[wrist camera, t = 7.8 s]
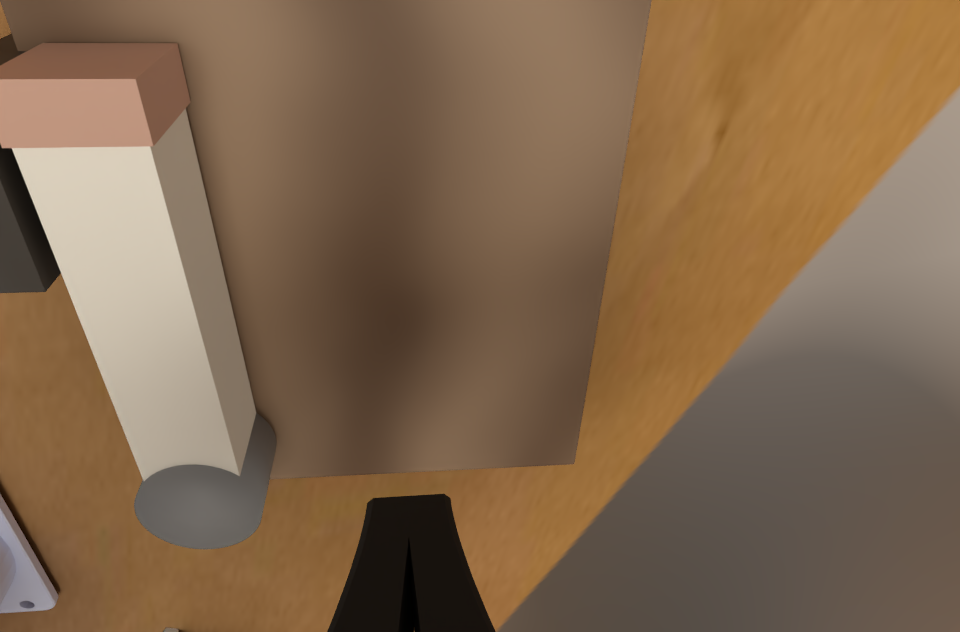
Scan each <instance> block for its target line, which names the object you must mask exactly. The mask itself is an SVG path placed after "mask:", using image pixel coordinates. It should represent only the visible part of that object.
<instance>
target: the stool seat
mask: <svg viewBox="0 0 960 632" xmlns="http://www.w3.org/2000/svg"><path fill="white" fill-rule="evenodd" d="M0 1H1V4H2V7H3V10H4V13H5V16H6V19H7V22H8V24H9V27H10V30H11V33H12V34H10V35H8V36H5V37H3V38H1V39H0V65H2V64H4V63H6V62H8V61H10V60H12V59H14V58H15V57H17V56H19V55H21V54H23V53H25V52H27V51H28V50H30V49H32V48H34V47H36V46H38V45H40V44H42V43H177V44H178V48H179V53H180V57H181V62H182V66H183V71H184V75H185V79H186V84H187V88H188V93H189V97H190V101H191V102H190V104H189V105H188V106H187V107H186V112H187V116H188V121H189V125H190V129H191V133H192V138H193V142H194V146H195V151H196V155H197V159H198V164H199V168H200V172H201V177H202V181H203V185H204V190H205V194H206V198H207V202H208V207H209V211H210V215H211V220H212V224H213V228H214V233H215V237H216V241H217V246H218V250H219V254H220V258H221V263H222V267H223V271H224V276H225V280H226V284H227V289H228V293H229V297H230V302H231V306H232V310H233V314H234V319H235V323H236V327H237V332H238V336H239V340H240V345H241V349H242V353H243V358H244V362H245V366H246V371H247V375H248V379H249V383H250V388H251V392H252V396H253V401H254V405H255V409H256V413H257V414H259V415H260V416H261V417H263V418H264V419H265V420H266V421H267V422H268V423H269V425H270V426H271V427H272V429H273V431H274V433H275V436H276V442H277V444H276V451H275V456H274V461H273V466H272V470H271V475H270V479H286V478H306V477H326V476H346V475H366V474H386V473H406V472H426V471H446V470H466V469H486V468H506V467H526V466H547V465H567V464H574V462H575V456H576V450H577V444H578V438H579V432H580V426H581V420H582V414H583V408H584V402H585V396H586V390H587V384H588V378H589V372H590V366H591V360H592V354H593V348H594V342H595V336H596V330H597V324H598V318H599V312H600V306H601V300H602V294H603V288H604V282H605V276H606V270H607V264H608V258H609V252H610V246H611V240H612V234H613V228H614V222H615V216H616V210H617V204H618V198H619V192H620V186H621V180H622V174H623V168H624V162H625V156H626V150H627V144H628V138H629V132H630V126H631V120H632V114H633V108H634V102H635V96H636V90H637V84H638V78H639V72H640V66H641V60H642V54H643V48H644V42H645V36H646V30H647V24H648V18H649V12H650V6H651V0H0ZM60 273H61V271H60V269H59V266H58V264H57V261H56V259H55V256H54V254H53V251H52V249H51V246H50V244H49V241H48V239H47V236H46V234H45V231H44V229H43V226H42V224H41V221H40V218H39V216H38V213H37V211H36V208H35V206H34V203H33V201H32V198H31V196H30V193H29V191H28V188H27V186H26V183H25V181H24V178H23V176H22V173H21V171H20V168H19V166H18V163H17V160H16V158H15V155H14V153H13V150H12V148H2V147H1V144H0V293H19V292H46V291H47V289H48V288H49V287H50V286H51V284H52V283H53V282H54V281H55V280H56V278H57V277H58V276H59V275H60Z"/></svg>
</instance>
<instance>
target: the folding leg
mask: <svg viewBox="0 0 960 632" xmlns="http://www.w3.org/2000/svg"><path fill="white" fill-rule="evenodd" d="M190 102H191V101H190V97H189V93H188V88H187V84H186V79H185V75H184V71H183V66H182V62H181V57H180V53H179V48H178V44H177V43H42V44H40V45H38V46H36V47H34V48H32V49H30V50H28V51H27V52H25V53H23V54H21V55H19V56H17V57H15V58H14V59H12V60H10V61H8V62H6V63H4V64H2V65H0V144H1V147H2V148H12V150H13V153H14V155H15V158H16V160H17V163H18V166H19V168H20V171H21V173H22V176H23V178H24V181H25V183H26V186H27V188H28V191H29V193H30V196H31V198H32V201H33V203H34V206H35V208H36V211H37V213H38V216H39V218H40V221H41V224H42V226H43V229H44V231H45V234H46V236H47V239H48V241H49V244H50V246H51V249H52V251H53V254H54V256H55V259H56V261H57V264H58V266H59V269H60V271H61V274H62V276H63V279H64V282H65V284H66V287H67V289H68V292H69V294H70V297H71V299H72V302H73V304H74V307H75V309H76V312H77V314H78V317H79V319H80V322H81V324H82V327H83V329H84V332H85V334H86V337H87V340H88V342H89V345H90V347H91V350H92V352H93V355H94V357H95V360H96V362H97V365H98V367H99V370H100V372H101V375H102V377H103V380H104V382H105V385H106V387H107V390H108V393H109V395H110V398H111V400H112V403H113V405H114V408H115V410H116V413H117V415H118V418H119V420H120V423H121V425H122V428H123V430H124V433H125V435H126V438H127V440H128V443H129V445H130V448H131V451H132V453H133V456H134V458H135V461H136V463H137V466H138V468H139V471H140V473H141V476H142V478H143V481H142V483H141V485H140V488H139V490H138V493H137V495H136V498H135V503H134V508H135V513H136V516H137V518H138V520H139V521H140V523H141V524H142V525H143V526H144V527H145V528H146V529H147V530H148V531H149V532H151V533H152V534H153V535H155V536H156V537H158V538H160V539H162V540H164V541H166V542H169V543H171V544H174V545H178V546H182V547H187V548H194V549H216V548H223V547H228V546H231V545H234V544H237V543H239V542H241V541H243V540H245V539H247V538H248V537H249V536H251V535H252V534H253V533H254V532H255V531H256V529H257V528H258V526H259V524H260V521H261V518H262V513H263V508H264V503H265V499H266V494H267V489H268V484H269V480H270V475H271V470H272V466H273V461H274V456H275V451H276V444H277V442H276V436H275V433H274V431H273V429H272V427H271V426H270V425H269V423H268V422H267V421H266V420H265V419H264V418H263V417H261V416H260V415H259V414H257V413H256V409H255V405H254V401H253V396H252V392H251V388H250V383H249V379H248V375H247V371H246V366H245V362H244V358H243V353H242V349H241V345H240V340H239V336H238V332H237V327H236V323H235V319H234V314H233V310H232V306H231V302H230V297H229V293H228V289H227V284H226V280H225V276H224V271H223V267H222V263H221V258H220V254H219V250H218V246H217V241H216V237H215V233H214V228H213V224H212V220H211V215H210V211H209V207H208V202H207V198H206V194H205V190H204V185H203V181H202V177H201V172H200V168H199V164H198V159H197V155H196V151H195V146H194V142H193V138H192V133H191V129H190V125H189V121H188V116H187V112H186V107H187V106H188V105H189V104H190Z"/></svg>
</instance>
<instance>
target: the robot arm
mask: <svg viewBox="0 0 960 632" xmlns="http://www.w3.org/2000/svg"><path fill="white" fill-rule="evenodd" d="M58 598H59V597H58V594H57V592H56V590H55V589H54V587H53V585H52V583H51V582H50V580H49V578H48V576H47V575H46V573H45V571H44V569H43V568H42V566H41V564H40V562H39V561H38V559H37V557H36V555H35V554H34V552H33V550H32V548H31V547H30V545H29V543H28V541H27V540H26V538H25V536H24V534H23V533H22V531H21V529H20V527H19V526H18V524H17V522H16V520H15V519H14V517H13V515H12V513H11V512H10V510H9V508H8V506H7V505H6V503H5V501H4V499H3V498H2V496H1V494H0V613H12V612H27V611H42V610H49V609H51V608H53V607H54V606H55V604H56V602H57V600H58ZM414 631H415V632H495V629H494V627H493V625H492V623H491V621H490V618H489V616H488V614H487V611H486V609H485V606H484V604H483V602H482V599H481V597H480V594H479V592H478V590H477V587H476V585H475V582H474V580H473V577H472V574H471V572H470V569H469V566H468V563H467V560H466V557H465V555H464V552H463V549H462V546H461V542H460V539H459V536H458V532H457V529H456V525H455V521H454V516H453V512H452V507H451V500H450V498H449V497H448V496H446V495H445V494H435V495H418V496H401V497H385V498H373V499H372V500H371V501H369V502H368V503H367V509H366V515H365V520H364V524H363V529H362V533H361V537H360V540H359V544H358V547H357V551H356V554H355V557H354V560H353V563H352V567H351V570H350V573H349V576H348V579H347V581H346V584H345V587H344V590H343V592H342V595H341V598H340V600H339V603H338V606H337V609H336V611H335V614H334V617H333V619H332V622H331V624H330V627H329V629H328V631H327V632H414Z"/></svg>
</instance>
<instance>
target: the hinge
mask: <svg viewBox="0 0 960 632" xmlns="http://www.w3.org/2000/svg"><path fill="white" fill-rule="evenodd" d="M163 632H179V630H178V629H175V628H165V630H164V631H163Z"/></svg>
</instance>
